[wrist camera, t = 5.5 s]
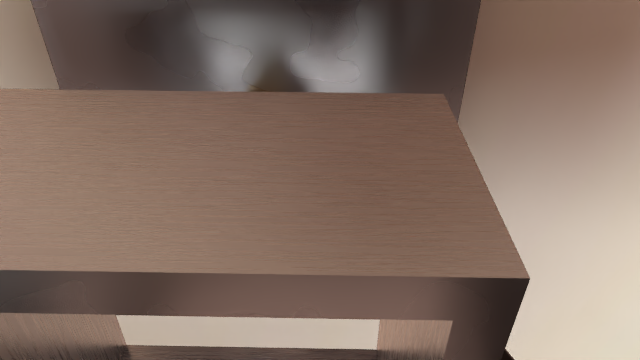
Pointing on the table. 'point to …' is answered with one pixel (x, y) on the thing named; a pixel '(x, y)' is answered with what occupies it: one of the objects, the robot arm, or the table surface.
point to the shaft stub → (261, 45)
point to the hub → (247, 222)
